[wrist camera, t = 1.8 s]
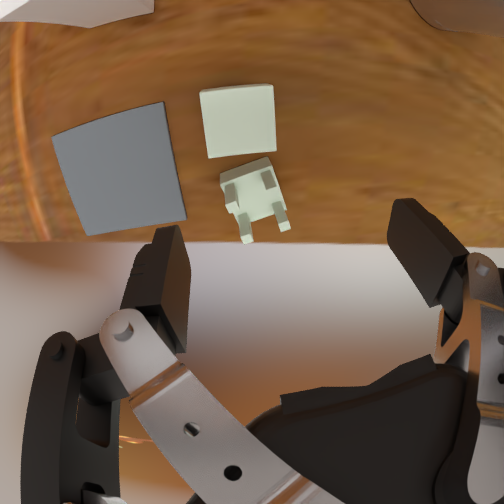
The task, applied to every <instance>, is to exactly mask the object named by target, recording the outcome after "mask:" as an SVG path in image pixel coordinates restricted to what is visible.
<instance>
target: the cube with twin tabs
mask: <svg viewBox="0 0 504 504" xmlns="http://www.w3.org/2000/svg"><path fill="white" fill-rule="evenodd" d="M199 94H200V102H201V109H202V117H203V124H204V131H205V138H206V145H207V152H208V158H215V157H223V156H231V155H240V154H249V153H259V152H271V151H277V150H276V129H275V110H274V92H273V85H270V84H267V83H265V84H250V85H238V86H228V87H220V88H212V89H205V90H202V91H201V92H200V93H199Z"/></svg>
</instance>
